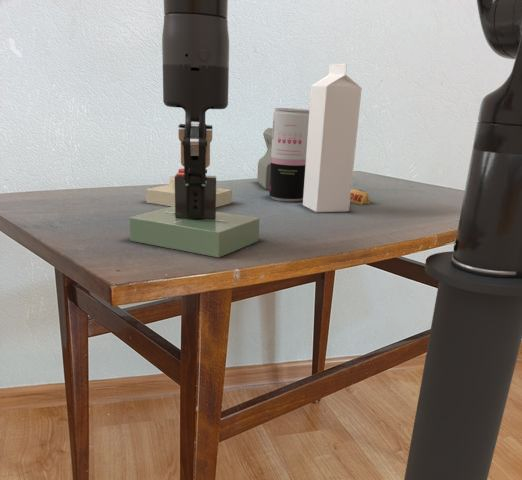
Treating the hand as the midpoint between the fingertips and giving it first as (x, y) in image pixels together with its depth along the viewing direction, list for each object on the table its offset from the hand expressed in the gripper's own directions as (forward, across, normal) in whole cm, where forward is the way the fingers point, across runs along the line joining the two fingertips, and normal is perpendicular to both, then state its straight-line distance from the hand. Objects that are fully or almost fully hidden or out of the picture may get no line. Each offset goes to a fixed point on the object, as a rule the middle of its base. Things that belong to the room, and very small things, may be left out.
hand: (195, 215), depth 74 cm
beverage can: (+3, -33, +16) cm, 36 cm away
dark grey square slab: (0, 0, 0) cm, 0 cm away
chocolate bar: (+3, -35, +27) cm, 44 cm away
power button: (-1, -26, -2) cm, 26 cm away
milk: (+3, -24, +21) cm, 33 cm away
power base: (+3, -26, -2) cm, 26 cm away
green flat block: (+3, 0, 0) cm, 3 cm away
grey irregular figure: (+3, -47, +16) cm, 49 cm away
